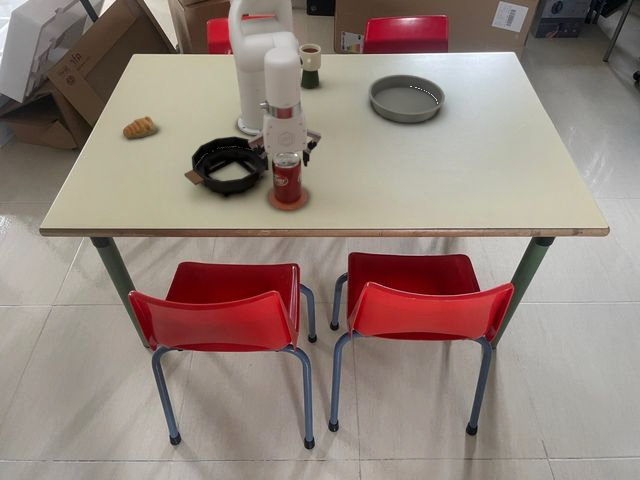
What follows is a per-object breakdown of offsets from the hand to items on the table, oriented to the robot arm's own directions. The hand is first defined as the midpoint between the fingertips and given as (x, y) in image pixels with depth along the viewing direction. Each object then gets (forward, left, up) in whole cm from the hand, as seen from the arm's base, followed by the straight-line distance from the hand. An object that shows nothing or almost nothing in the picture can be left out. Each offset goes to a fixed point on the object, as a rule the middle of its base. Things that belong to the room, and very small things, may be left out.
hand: (285, 165), depth 118 cm
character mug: (-43, -38, -10) cm, 58 cm away
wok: (+6, -16, -10) cm, 20 cm away
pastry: (+14, -51, -10) cm, 54 cm away
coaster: (0, +1, -10) cm, 10 cm away
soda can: (0, +1, -10) cm, 10 cm away
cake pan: (-58, -8, -10) cm, 59 cm away
